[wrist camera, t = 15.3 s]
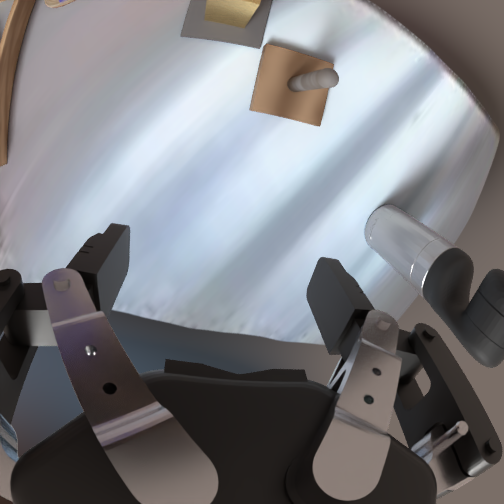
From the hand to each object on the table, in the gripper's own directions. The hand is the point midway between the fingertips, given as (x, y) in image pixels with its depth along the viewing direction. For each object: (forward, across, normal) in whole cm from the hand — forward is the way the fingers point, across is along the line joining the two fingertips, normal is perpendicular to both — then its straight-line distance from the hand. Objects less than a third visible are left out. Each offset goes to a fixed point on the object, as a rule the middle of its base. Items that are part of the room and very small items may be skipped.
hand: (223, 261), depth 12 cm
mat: (+31, +4, -21) cm, 38 cm away
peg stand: (+31, -7, -12) cm, 34 cm away
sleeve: (+30, +4, -21) cm, 37 cm away
